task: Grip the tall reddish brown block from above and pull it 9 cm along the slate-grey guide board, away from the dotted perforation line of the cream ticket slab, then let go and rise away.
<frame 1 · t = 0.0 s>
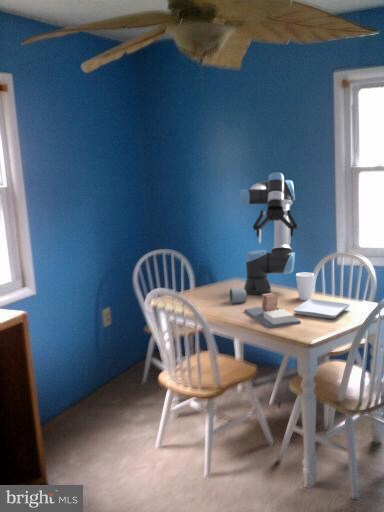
hand: (274, 242, 244), 36 cm above the table, tool tilted 35°, fingers open, 13 cm apart
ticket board: (273, 318, 250), on the table
reddish brown block: (269, 304, 252), point 6 cm above the table, slide at 0.0 cm
salad plate: (321, 313, 256), on the table
grey cylinder: (237, 302, 281), on the table
foam cup: (305, 298, 281), on the table
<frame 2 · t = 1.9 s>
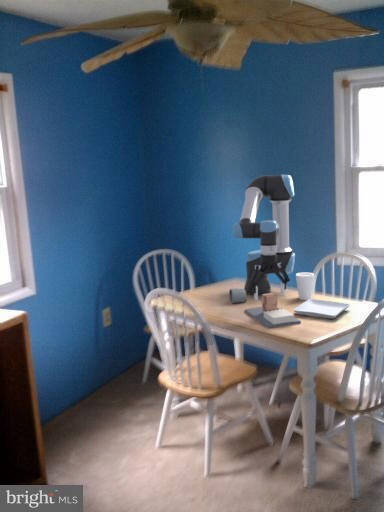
hand: (269, 298, 251), 9 cm above the table, tool pointing down, fingers open, 13 cm apart
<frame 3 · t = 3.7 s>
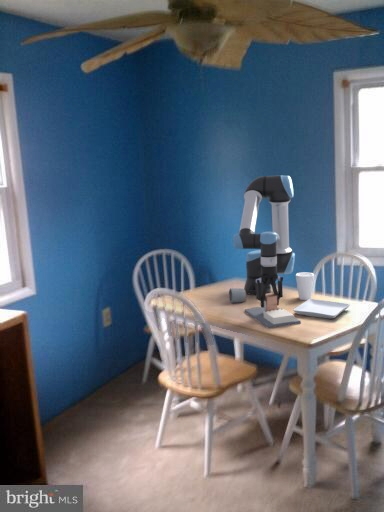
hand: (269, 312, 253), 2 cm above the table, tool pointing down, fingers closed on reddish brown block, 5 cm apart
reddish brown block: (269, 304, 252), point 6 cm above the table, slide at 0.0 cm, touching gripper
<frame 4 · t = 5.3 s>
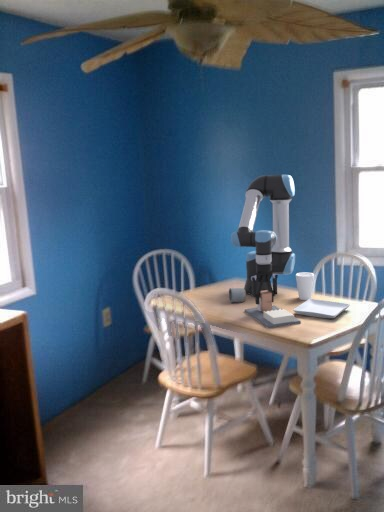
hand: (264, 309, 258), 2 cm above the table, tool pointing down, fingers closed on reddish brown block, 5 cm apart
reddish brown block: (264, 301, 258), point 6 cm above the table, slide at 5.9 cm, touching gripper
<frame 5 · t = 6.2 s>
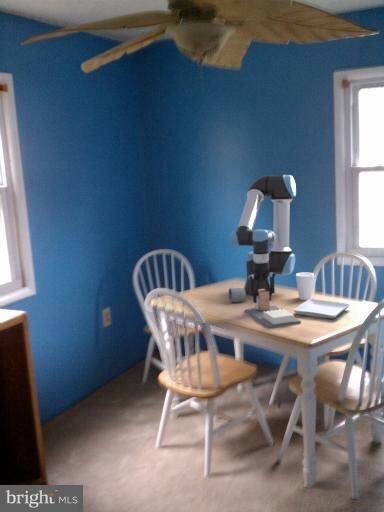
hand: (262, 308, 261), 2 cm above the table, tool pointing down, fingers closed on reddish brown block, 5 cm apart
reddish brown block: (262, 299, 260), point 6 cm above the table, slide at 8.9 cm, touching gripper
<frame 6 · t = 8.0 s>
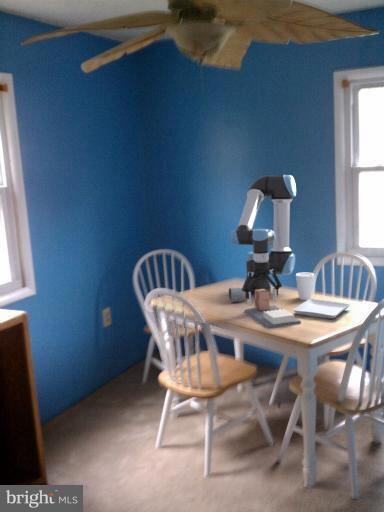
hand: (262, 303, 261), 4 cm above the table, tool pointing down, fingers open, 13 cm apart
reddish brown block: (262, 299, 260), point 6 cm above the table, slide at 9.0 cm
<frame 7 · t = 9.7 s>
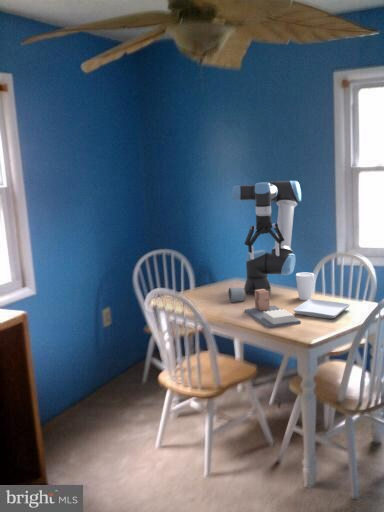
hand: (264, 257, 263), 26 cm above the table, tool pointing down, fingers open, 13 cm apart
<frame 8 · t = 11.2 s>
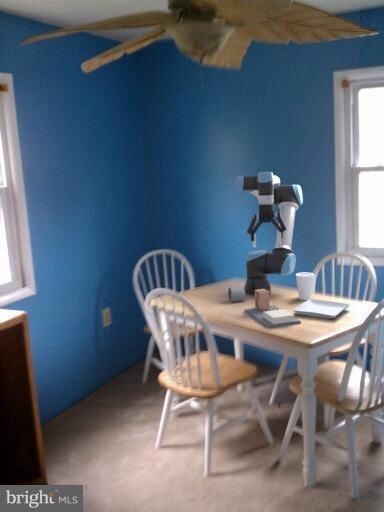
hand: (267, 246, 266), 31 cm above the table, tool pointing down, fingers open, 13 cm apart
at the end: reddish brown block slide at 9.0 cm; the gripper is holding nothing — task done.
